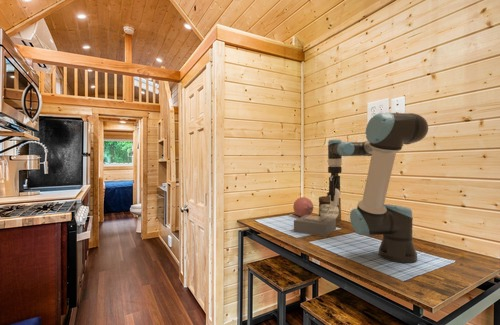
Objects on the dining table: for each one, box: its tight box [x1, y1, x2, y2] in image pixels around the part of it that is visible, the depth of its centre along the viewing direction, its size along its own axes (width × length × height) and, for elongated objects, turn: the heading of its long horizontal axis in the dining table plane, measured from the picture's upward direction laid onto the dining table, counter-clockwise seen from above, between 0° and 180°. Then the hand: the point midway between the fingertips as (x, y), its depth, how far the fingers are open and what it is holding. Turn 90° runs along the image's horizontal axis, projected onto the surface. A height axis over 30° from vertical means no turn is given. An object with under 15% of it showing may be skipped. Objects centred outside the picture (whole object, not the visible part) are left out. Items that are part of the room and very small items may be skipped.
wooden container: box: [318, 191, 342, 227], centre depth 179 cm, size 15×15×22 cm
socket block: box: [293, 214, 337, 238], centre depth 161 cm, size 20×20×7 cm
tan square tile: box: [304, 214, 326, 222], centre depth 161 cm, size 10×10×3 cm
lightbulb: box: [335, 188, 341, 207], centre depth 149 cm, size 6×6×11 cm
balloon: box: [292, 196, 314, 218], centre depth 198 cm, size 15×20×15 cm
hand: (334, 205), depth 149 cm, fingers closed on lightbulb, 6 cm apart
